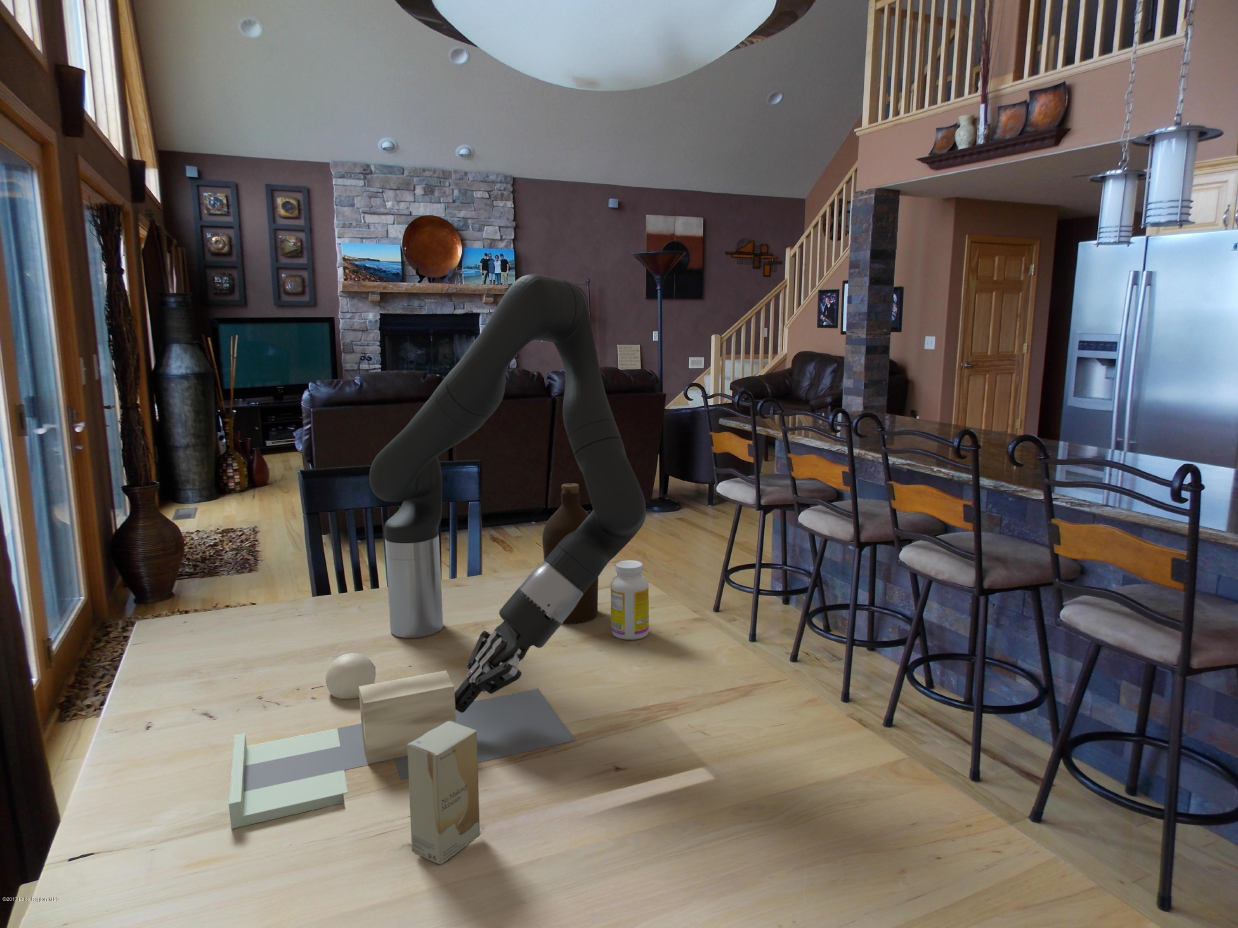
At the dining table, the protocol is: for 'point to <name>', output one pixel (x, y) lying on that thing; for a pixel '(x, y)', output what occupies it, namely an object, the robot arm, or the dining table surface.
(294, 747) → the board
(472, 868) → the dining table surface
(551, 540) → the olive oil
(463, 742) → the skincare box
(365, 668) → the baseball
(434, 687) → the birch block
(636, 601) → the supplement bottle
